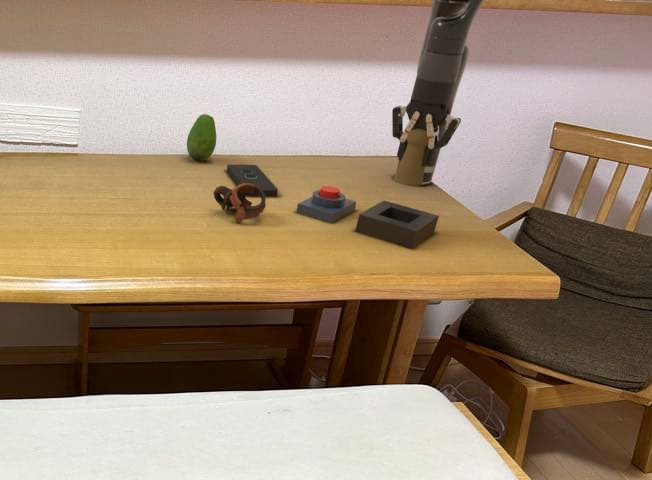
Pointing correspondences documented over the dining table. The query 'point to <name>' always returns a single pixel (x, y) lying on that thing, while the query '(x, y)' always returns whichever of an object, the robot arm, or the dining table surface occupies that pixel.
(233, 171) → the smart home device
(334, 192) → the power button
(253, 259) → the dining table surface
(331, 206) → the power block
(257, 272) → the dining table surface
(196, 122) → the avocado
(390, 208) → the socket
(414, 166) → the cork
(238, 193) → the brown looped knot
